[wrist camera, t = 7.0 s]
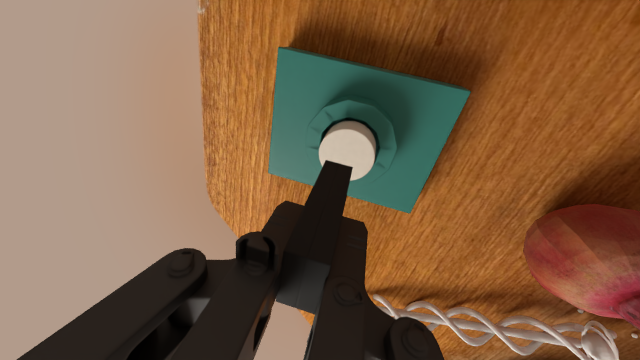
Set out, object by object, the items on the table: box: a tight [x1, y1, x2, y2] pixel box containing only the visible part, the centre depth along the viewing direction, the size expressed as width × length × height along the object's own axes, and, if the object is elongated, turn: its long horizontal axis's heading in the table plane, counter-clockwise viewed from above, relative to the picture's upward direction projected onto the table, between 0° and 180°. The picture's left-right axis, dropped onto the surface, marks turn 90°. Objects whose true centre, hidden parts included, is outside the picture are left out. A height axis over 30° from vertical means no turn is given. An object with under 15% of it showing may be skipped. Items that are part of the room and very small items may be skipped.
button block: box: [268, 47, 471, 213], centre depth 20 cm, size 14×11×4 cm
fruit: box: [523, 204, 640, 330], centre depth 17 cm, size 8×8×10 cm
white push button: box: [319, 121, 376, 181], centre depth 18 cm, size 4×4×2 cm
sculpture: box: [373, 294, 638, 360], centre depth 27 cm, size 7×5×30 cm
